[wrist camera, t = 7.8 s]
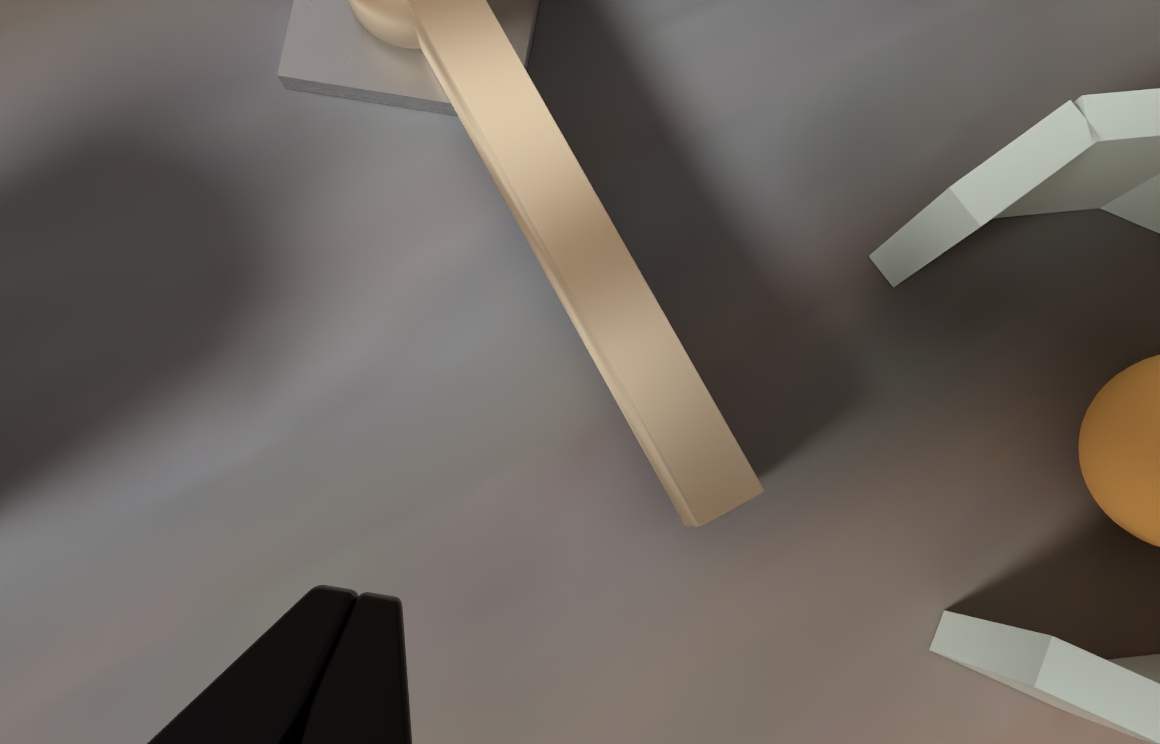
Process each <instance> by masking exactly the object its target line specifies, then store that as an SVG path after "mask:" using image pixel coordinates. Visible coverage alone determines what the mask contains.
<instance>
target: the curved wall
mask: <svg viewBox="0 0 1160 744" xmlns="http://www.w3.org/2000/svg"><path fill="white" fill-rule="evenodd" d="M1097 208H1100V209H1103V210H1105V211H1108V212H1110V213H1112V214H1115V215H1117V216H1119V217H1122V218H1124V219H1126V220H1129V221H1131V222H1133V223H1136V224H1138V225H1140V226H1143V227H1145V228H1147V229H1150V230H1152V231H1155V232H1157V233H1159V234H1160V88H1158V89H1147V90H1136V91H1125V92H1114V93H1102V94H1091V95H1082V96H1081V97H1079V98H1078V99H1077V100H1076V101H1075V102H1073V103H1072V101H1071V100H1069V101H1068V102H1066V103H1065V104H1064V105H1062V106H1061V107H1059V108H1058V109H1057V110H1055V111H1054V112H1052V113H1051V114H1050V115H1048V116H1047V117H1046V118H1044V119H1043V120H1041V121H1040V122H1039V123H1037V124H1036V125H1035V126H1033V127H1032V128H1030V129H1029V130H1028V131H1026V132H1025V133H1024V134H1022V135H1021V136H1019V137H1018V138H1017V139H1015V140H1014V141H1012V142H1011V143H1010V144H1008V145H1007V146H1006V147H1004V148H1003V149H1001V150H1000V151H999V152H997V153H996V154H995V155H993V156H992V157H990V158H989V159H988V160H986V161H985V162H983V163H982V164H981V165H979V166H978V167H977V168H975V169H974V170H972V171H971V172H970V173H968V174H967V175H966V176H964V177H963V178H961V179H960V180H959V181H957V182H956V183H954V184H953V185H952V186H950V187H949V188H948V189H947V190H945V191H944V192H943V193H942V194H941V195H940V196H938V197H937V198H936V199H935V200H934V201H933V202H931V203H930V204H929V205H928V206H927V207H926V208H924V209H923V210H922V211H921V212H920V213H918V214H917V215H916V216H915V217H914V218H913V219H911V220H910V221H909V222H908V223H907V224H906V225H904V226H903V227H902V228H901V229H900V230H899V231H897V232H896V233H895V234H894V235H893V236H891V237H890V238H889V239H888V240H887V241H886V242H884V243H883V244H882V245H881V246H880V247H879V248H877V249H876V250H875V251H874V252H873V253H872V254H870V255H869V257H870V259H871V260H872V261H873V262H874V264H875V265H876V266H877V267H878V269H879V270H880V271H881V273H882V274H883V275H884V276H885V278H886V279H887V280H888V281H889V283H890V284H891V285H892V287H895V286H896V285H898V284H899V283H900V282H902V281H903V280H905V279H906V278H908V277H909V276H911V275H912V274H913V273H915V272H916V271H918V270H919V269H921V268H922V267H924V266H925V265H926V264H928V263H929V262H931V261H932V260H934V259H935V258H936V257H938V256H939V255H941V254H942V253H944V252H945V251H947V250H948V249H949V248H951V247H952V246H954V245H955V244H957V243H958V242H960V241H961V240H962V239H964V238H965V237H967V236H968V235H970V234H971V233H972V232H974V231H975V230H977V229H978V228H980V227H981V226H982V225H984V224H985V223H987V222H988V221H989V220H991V219H992V218H1002V217H1012V216H1023V215H1033V214H1044V213H1054V212H1065V211H1075V210H1086V209H1097ZM930 650H931V651H933V652H935V653H937V654H939V655H942V656H944V657H946V658H948V659H950V660H953V661H955V662H957V663H959V664H962V665H964V666H966V667H968V668H970V669H973V670H975V671H977V672H979V673H982V674H984V675H986V676H988V677H990V678H993V679H995V680H997V681H999V682H1001V683H1004V684H1006V685H1008V686H1010V687H1013V688H1015V689H1017V690H1019V691H1021V692H1024V693H1026V694H1028V695H1030V696H1033V697H1035V698H1037V699H1039V700H1041V701H1044V702H1046V703H1048V704H1050V705H1052V706H1055V707H1057V708H1060V709H1062V710H1065V711H1068V712H1070V713H1073V714H1076V715H1078V716H1081V717H1084V718H1086V719H1089V720H1092V721H1094V722H1097V723H1099V724H1102V725H1105V726H1107V727H1110V728H1113V729H1115V730H1118V731H1121V732H1123V733H1126V734H1129V735H1131V736H1134V737H1137V738H1139V739H1142V740H1144V741H1147V742H1150V743H1152V744H1160V654H1153V655H1145V656H1136V657H1127V658H1118V659H1109V660H1105V659H1103V658H1101V657H1098V656H1096V655H1094V654H1092V653H1090V652H1087V651H1085V650H1083V649H1081V648H1078V647H1076V646H1074V645H1072V644H1069V643H1067V642H1065V641H1063V640H1060V639H1058V638H1056V637H1054V636H1051V635H1047V634H1042V633H1038V632H1034V631H1030V630H1025V629H1021V628H1017V627H1013V626H1008V625H1004V624H1000V623H996V622H992V621H987V620H983V619H979V618H975V617H970V616H966V615H962V614H958V613H953V612H949V611H945V610H944V612H943V615H942V618H941V620H940V623H939V626H938V628H937V631H936V634H935V636H934V639H933V642H932V644H931V647H930Z"/></svg>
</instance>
